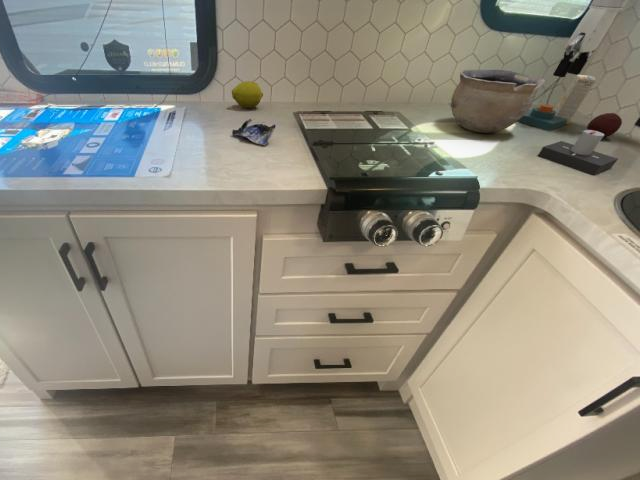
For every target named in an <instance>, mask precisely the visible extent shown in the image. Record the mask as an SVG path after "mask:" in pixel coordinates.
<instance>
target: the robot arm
mask: <svg viewBox="0 0 640 480" xmlns="http://www.w3.org/2000/svg"><path fill="white" fill-rule="evenodd" d="M628 1H629V0H592V2H591V4H590V5H589V9H588V10H587V12H586V13H585V14H584V16H583V17H582V19H581V20H580V22H579V23H578V25H577V26H576V28H575V30H574V31H573V33H572V34H571V36H570V38H569V39H568V41H567V43H566V45H565V46H564V50H565V51H564V53H563V56H562V57H561V59H560V62H559V64H558V65H557V66H556V69H555V70H554V72H553V77H558V78H565V77H566V76H567V74H570V75H575V76H577V75H581V74H580V73H581V72H582V70H583V69H584V67H585V66H586V64H587V62H588V61H589V59H590V58H591V56H592V54H593V53H595V52H594V51H595V50H596V49H597V48H598V47H599V45H600V43H601V42H602V41H603V39H604V37H605V35H606V34H607V32H608V30H609V29H610V27H611V25H612V24H613V22H614V20H615V18H616V16H617V14H618V12H619V11H622V10H623V9H624V8H625V6H626V4H627V3H628Z"/></svg>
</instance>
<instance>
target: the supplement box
mask: <svg viewBox="0 0 640 480" xmlns="http://www.w3.org/2000/svg"><path fill="white" fill-rule="evenodd" d="M596 82H597V79H596V78H595V77H594V76H592V75H586V74H578V75H575V77H574V79H573V81H572V83H571V85H570V86H569V88H568V89H567V91H566V92H565V94H564V95H563V97H562V99H561V101H560V102H559V104H558V105H557V106H556V109H555V110H554V111H556V114H555V116H557V117H561V118H564V119H568V120H567V121H566V123H565V124H564V125H568V124H569V123H570V121H571V120H572V118H573V117H574V115H575V114H576V113H577V111H578V110H579V108H580V106H581V105H582V103H583V102H584V100H585V98H586V97H587V96H588V94H589V93H590V91H591V89H592V88H593V87H594V86H595V83H596Z"/></svg>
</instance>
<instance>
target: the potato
mask: <svg viewBox="0 0 640 480" xmlns="http://www.w3.org/2000/svg"><path fill="white" fill-rule="evenodd" d="M622 125H623V121H622V118H621V117H620V115H619V114H617V113H616V112H615V113H614V112H607V113H602V114H600V115H597V116H595V117H593V118H592V119H591V120H590V121H589V123H588V124H587V127H586V130H593V131H598V132H601V133H603V134H604V136H603V138H602V139H605V138H609V137H611V136H612V135H614V134H615V133H616V132H618V130H619V129H620V128H621V127H622Z"/></svg>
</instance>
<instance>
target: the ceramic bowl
mask: <svg viewBox="0 0 640 480" xmlns="http://www.w3.org/2000/svg"><path fill="white" fill-rule="evenodd" d="M545 83H546V80H545V79H544V78H543V77H536V76H532V75H529V74H526V73H522V72H521V73H519V72H517V71H512V70H505V69H465V70H462V71H461V72H460V73H459V82H458V83H457V85H456V87H455V89H454V91H453V93H452V95H451V100H450V108H451V113H452V116H453V118H454V120H455V121H456V123H457V125H459V126H460V127H462V128H463V129H466V130H468V131H471V132H476V133H482V134H494V133H495V134H496V133H499V132H501V131H504V130H505V129H508V128H509V127H511V126H512V125H514V124H515V123H516V122H518V120H519V119H520V118H521V117H522V116H523V115H524V114H525V113H526V112H527V111H528V110H531V108H532V105H533V103H534V100H535V98H536V95H537V92H538V91H539V90H540V88H542V87H543V85H544V84H545Z"/></svg>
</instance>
